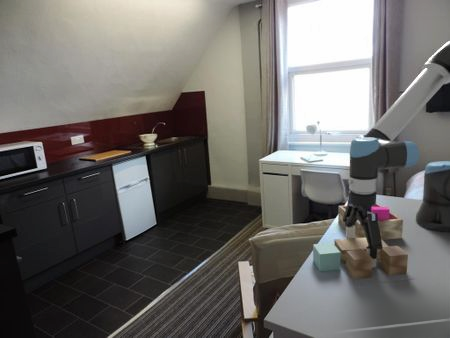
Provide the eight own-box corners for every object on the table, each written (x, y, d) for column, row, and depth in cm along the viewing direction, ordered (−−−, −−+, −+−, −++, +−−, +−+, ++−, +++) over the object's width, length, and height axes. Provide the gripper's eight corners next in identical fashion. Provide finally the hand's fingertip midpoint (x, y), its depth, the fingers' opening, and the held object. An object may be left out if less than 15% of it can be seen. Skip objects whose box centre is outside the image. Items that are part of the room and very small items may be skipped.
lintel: (378, 250, 103) (378, 236, 102) (388, 262, 97) (389, 247, 95) (334, 253, 104) (334, 239, 103) (341, 265, 97) (342, 250, 96)
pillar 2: (396, 264, 94) (397, 245, 93) (406, 273, 89) (407, 254, 88) (379, 266, 94) (380, 247, 92) (389, 275, 89) (390, 256, 87)
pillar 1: (362, 267, 94) (363, 249, 92) (371, 277, 89) (372, 258, 87) (345, 269, 93) (346, 250, 92) (353, 279, 89) (354, 259, 87)
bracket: (387, 237, 110) (389, 209, 108) (356, 236, 112) (356, 209, 110) (378, 223, 122) (380, 197, 119) (350, 222, 124) (350, 197, 121)
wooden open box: (375, 219, 126) (376, 202, 124) (401, 238, 109) (403, 219, 107) (338, 222, 125) (338, 205, 123) (358, 243, 108) (359, 223, 107)
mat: (392, 260, 97) (392, 259, 96) (413, 280, 87) (414, 278, 87) (340, 266, 96) (340, 265, 96) (356, 286, 86) (356, 285, 86)
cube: (332, 260, 100) (332, 242, 98) (340, 270, 94) (340, 252, 92) (313, 262, 99) (313, 244, 98) (320, 272, 94) (320, 254, 92)
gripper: (333, 179, 107) (332, 238, 112) (371, 206, 82) (368, 279, 88) (355, 178, 107) (353, 236, 112) (400, 204, 83) (394, 276, 88)
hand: (359, 255), depth 100 cm, fingers open, 13 cm apart
